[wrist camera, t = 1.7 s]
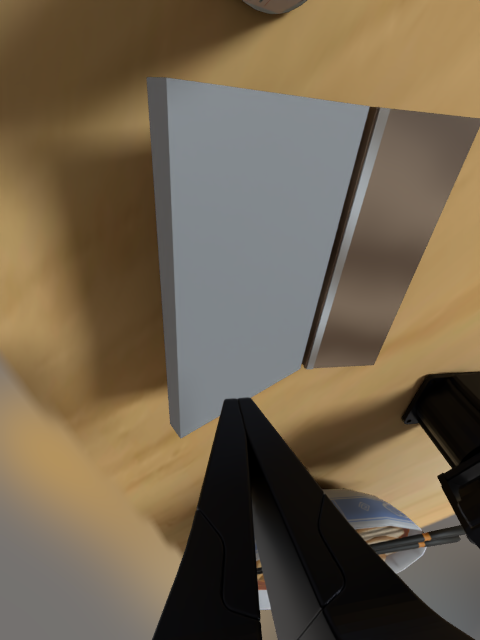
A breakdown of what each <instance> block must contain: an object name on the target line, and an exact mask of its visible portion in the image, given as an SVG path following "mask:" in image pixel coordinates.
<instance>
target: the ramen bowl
mask: <svg viewBox="0 0 480 640" xmlns="http://www.w3.org/2000/svg"><path fill="white" fill-rule="evenodd" d="M322 490H323V491H324V494H326V495H327V496H328V497H329V499H330V500H331V501H332V502H333V504H334V505H335V506H336V507H337V509H338V510H339V511H340V512H341V514H342V515H343V516H344V517H345V518H346V520H347V521H348V522H349V523H350V525H351V526H352V527H353V528H354V529H355V530H356V531H357V532H358V533H359V534H360V536H361V537H362V538H363V539H364V540H365V541H366V542H367V543H368V544H369V545H370V547H371V548H372V549H373V550H374V551H375V552H376V553H377V554H378V555H379V556H380V557H381V558H382V559H383V560H384V561H385V562H386V563H387V565H388V566H389V567H390V568H391V569H392V570H393V571H394V572H395V573H396V574H397V573H399V572H401V571H403V570H404V569H406V568H407V567H408V566H409V565H411V564H412V563H413V562H415V561H416V560H417V559H418V558H420V557H421V556H422V555H423V554H424V552H425V550H426V548H427V547H429V546H435V545H441V544H447V543H453V542H458V541H459V540H460V538H459V535H464V534H466V533H465V531H464V529H463V527H462V525H459V526H455V527H450V528H445V529H441V530H436V531H431V532H427V533H424V532H423V531H422V530H421V529H420V528H419V527H418V526H417V525H416V524H415V523H414V522H412V521H411V520H410V519H409V518H408V517H407V516H406V515H405V514H403V513H402V512H400V511H399V510H397V509H396V508H394V507H393V506H392V505H390V504H389V503H387V502H385V501H383V500H381V499H379V498H378V497H376V496H373V495H369V494H365V493H361V492H357V491H352V490H348V489H326V490H324V489H322ZM254 538H255V536H254ZM255 552H256V565H257V579H258V592H259V606H260V610H271V607H270V602H269V598H268V594H267V589H266V585H265V580H264V576H263V571H262V567H261V563H260V558H259V554H258V549H257V545H256V540H255Z"/></svg>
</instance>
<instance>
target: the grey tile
mask: <svg viewBox="0 0 480 640" xmlns="http://www.w3.org/2000/svg"><path fill="white" fill-rule="evenodd" d="M147 91H148V105H149V120H150V135H151V149H152V164H153V179H154V194H155V208H156V223H157V238H158V252H159V267H160V282H161V297H162V311H163V326H164V341H165V355H166V370H167V385H168V400H169V414H170V424H171V426H172V427H173V428H174V430H175V431H176V433H177V434H178V436H179V437H180V438H182V437H184V436H186V435H188V434H189V433H191V432H193V431H194V430H196V429H198V428H200V427H201V426H203V425H205V424H206V423H208V422H210V421H212V420H213V419H215V418H217V417H218V416H220V414H221V410H222V406H223V402H224V400H225V399H230V398H237V399H238V398H245V397H249V398H251V397H253V396H254V395H256V394H258V393H259V392H261V391H263V390H265V389H266V388H268V387H270V386H271V385H273V384H275V383H277V382H278V381H280V380H282V379H283V378H285V377H287V376H289V375H290V374H292V373H294V372H295V371H297V370H299V369H300V367H301V364H302V360H303V356H304V352H305V348H306V345H307V341H308V337H309V333H310V330H311V326H312V322H313V318H314V315H315V311H316V307H317V303H318V299H319V296H320V292H321V288H322V284H323V281H324V277H325V273H326V269H327V265H328V262H329V258H330V254H331V250H332V247H333V243H334V239H335V235H336V232H337V228H338V224H339V220H340V216H341V213H342V209H343V205H344V201H345V198H346V194H347V190H348V186H349V183H350V179H351V175H352V171H353V167H354V164H355V160H356V156H357V152H358V149H359V145H360V141H361V137H362V133H363V130H364V126H365V122H366V118H367V115H368V111H369V107H370V106H363V105H356V104H349V103H342V102H335V101H328V100H321V99H314V98H307V97H300V96H293V95H286V94H278V93H271V92H264V91H257V90H250V89H243V88H236V87H229V86H222V85H215V84H208V83H201V82H194V81H187V80H180V79H173V78H162V77H147Z"/></svg>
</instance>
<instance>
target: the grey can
mask: <svg viewBox="0 0 480 640" xmlns="http://www.w3.org/2000/svg"><path fill="white" fill-rule="evenodd" d="M243 1H244V2H245V3H246V4H248V5H249V6H251V7H252V8H254V9H256V10H258V11H261V12H265V13H268V14H281V13H286V12H289V11H291V10H293V9H295V8H297V7H299V6H301V5H302V4H303V3H305V2H306V1H307V0H243Z"/></svg>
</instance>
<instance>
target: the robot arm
mask: <svg viewBox="0 0 480 640" xmlns="http://www.w3.org/2000/svg"><path fill="white" fill-rule="evenodd" d="M402 421H403V422H404V424H416V423H419V424H420V425H421V427H422V428H423V429H424V431H425V432H426V433H427V435H428V436H429V438H430V439H431V440H432V442H433V443H434V444H435V446H436V447H437V448H438V450H439V451H440V453H441V454H442V455H443V457H444V458H445V459H446V461H447V462H448V463H449V465H450V466H451V467H452V469H451V470H449V471H447V472H446V473H442V474H440V475H438V476H437V477H438V479H439V481H440V483H441V485H442V486H441V487H442V489H443V491H444V493H445V495H446V497H447V498H448V500H449V502H450V504H451V506H452V508H453V510H454V512H455V514H456V515H457V517H458V520H459V521H460V523H461V525H462V527H463V529H464V531H465V533H466V536H467V538H468V539H469V541H470V542H471V543H473V544H475V545H477V546H478V547H479V548H480V372H471V373H454V374H437V375H430V376H428V377H427V378H426V379H425V381H424V382H423V384H422V386H421V387H420V389H419V391H418V392H417V394H416V396H415V397H414V399H413V401H412V402H411V404H410V406H409V408H408V409H407V411H406V413H405V414H404V416H403V418H402ZM254 536H255V538H254ZM255 540H256V545H257V549H258V554H259V558H260V563H261V567H262V571H263V576H264V580H265V585H266V589H267V594H268V598H269V602H270V607H271V611H272V616H273V620H274V624H275V629H276V633H277V638H278V640H475V639H473V638H472V637H470V636H469V635H467V634H466V633H464V632H462V631H461V630H459V629H458V628H456V627H454V626H453V625H452V624H450V623H449V622H447V621H446V620H445V619H443V618H442V617H440V616H439V615H438V614H437V613H436V612H434V611H433V610H432V609H431V608H430V607H428V606H427V605H426V604H425V603H424V602H423V601H422V600H421V599H420V598H419V597H418V596H417V595H416V594H415V593H414V592H413V591H412V590H411V589H410V588H409V587H408V586H407V585H406V584H405V583H404V582H403V581H402V579H401V578H400V577H399V576H398V575H397V574H396V573H395V572H394V571H393V570H392V569H391V568H390V567H389V566H388V565H387V563H386V562H385V561H384V560H383V559H382V558H381V557H380V556H379V555H378V554H377V553H376V552H375V551H374V550H373V549H372V548H371V547H370V545H369V544H368V543H367V542H366V541H365V540H364V539H363V538H362V537H361V536H360V534H359V533H358V532H357V531H356V530H355V529H354V528H353V527H352V526H351V525H350V523H349V522H348V521H347V520H346V518H345V517H344V516H343V515H342V514H341V512H340V511H339V510H338V509H337V507H336V506H335V505H334V504H333V502H332V501H331V500H330V499H329V497H328V496H327V495H326V494H324V491H323V490H322V488H321V487H320V486H319V485H318V483H317V482H316V481H315V480H314V478H313V477H312V476H311V474H310V473H309V472H308V471H307V469H306V468H305V467H304V465H303V464H302V463H301V462H300V460H299V459H298V458H297V456H296V455H295V454H294V453H293V451H292V450H291V449H290V448H289V446H288V445H287V444H286V442H285V441H284V440H283V439H282V437H281V436H280V435H279V433H278V432H277V431H276V430H275V428H274V427H273V426H272V425H271V423H270V422H269V421H268V419H267V418H266V417H265V416H264V414H263V413H262V412H261V410H260V409H259V408H258V407H257V405H256V404H255V403H254V402H253V400H252V399H251V398H249V397H245V398H238V399H237V398H230V399H225V400H224V402H223V406H222V410H221V414H220V418H219V422H218V426H217V430H216V433H215V437H214V441H213V445H212V449H211V453H210V457H209V461H208V465H207V469H206V473H205V477H204V481H203V485H202V489H201V493H200V497H199V501H198V505H197V510H196V512H195V516H194V520H193V524H192V528H191V531H190V535H189V538H188V542H187V545H186V549H185V552H184V555H183V558H182V560H181V563H180V566H179V569H178V572H177V575H176V578H175V580H174V583H173V585H172V588H171V591H170V593H169V596H168V599H167V601H166V604H165V607H164V609H163V612H162V615H161V617H160V620H159V623H158V625H157V628H156V631H155V633H154V636H153V638H152V640H262V634H261V623H260V606H259V592H258V579H257V565H256V552H255Z"/></svg>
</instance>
